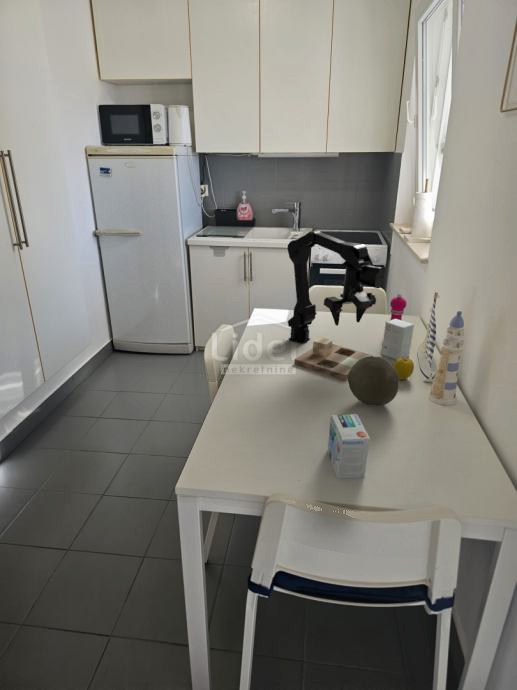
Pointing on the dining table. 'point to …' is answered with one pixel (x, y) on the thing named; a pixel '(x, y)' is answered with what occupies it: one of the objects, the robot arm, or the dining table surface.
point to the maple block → (322, 347)
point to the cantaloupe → (373, 381)
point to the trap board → (331, 361)
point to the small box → (397, 339)
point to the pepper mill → (397, 307)
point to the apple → (404, 367)
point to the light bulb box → (348, 446)
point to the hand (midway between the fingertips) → (347, 323)
